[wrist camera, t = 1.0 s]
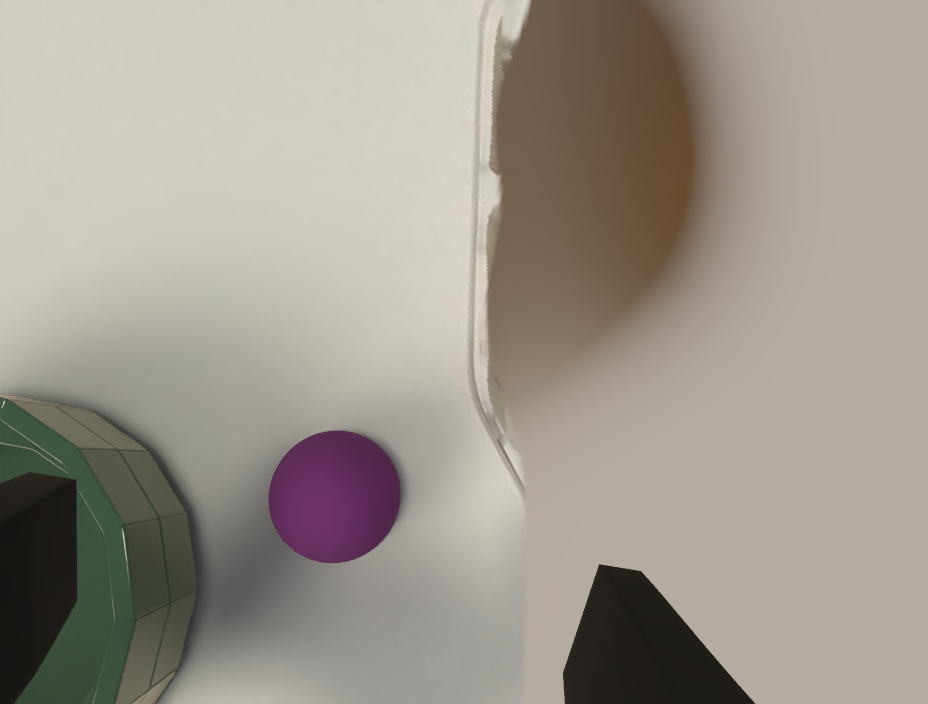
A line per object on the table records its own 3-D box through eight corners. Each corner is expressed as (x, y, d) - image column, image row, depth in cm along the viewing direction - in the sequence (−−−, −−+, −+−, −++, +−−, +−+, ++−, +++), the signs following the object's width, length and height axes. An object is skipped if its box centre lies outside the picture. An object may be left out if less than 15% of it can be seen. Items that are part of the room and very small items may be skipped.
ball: (391, 564, 23) (379, 585, 19) (274, 541, 23) (237, 557, 19) (415, 445, 23) (408, 441, 19) (301, 423, 23) (270, 415, 19)
